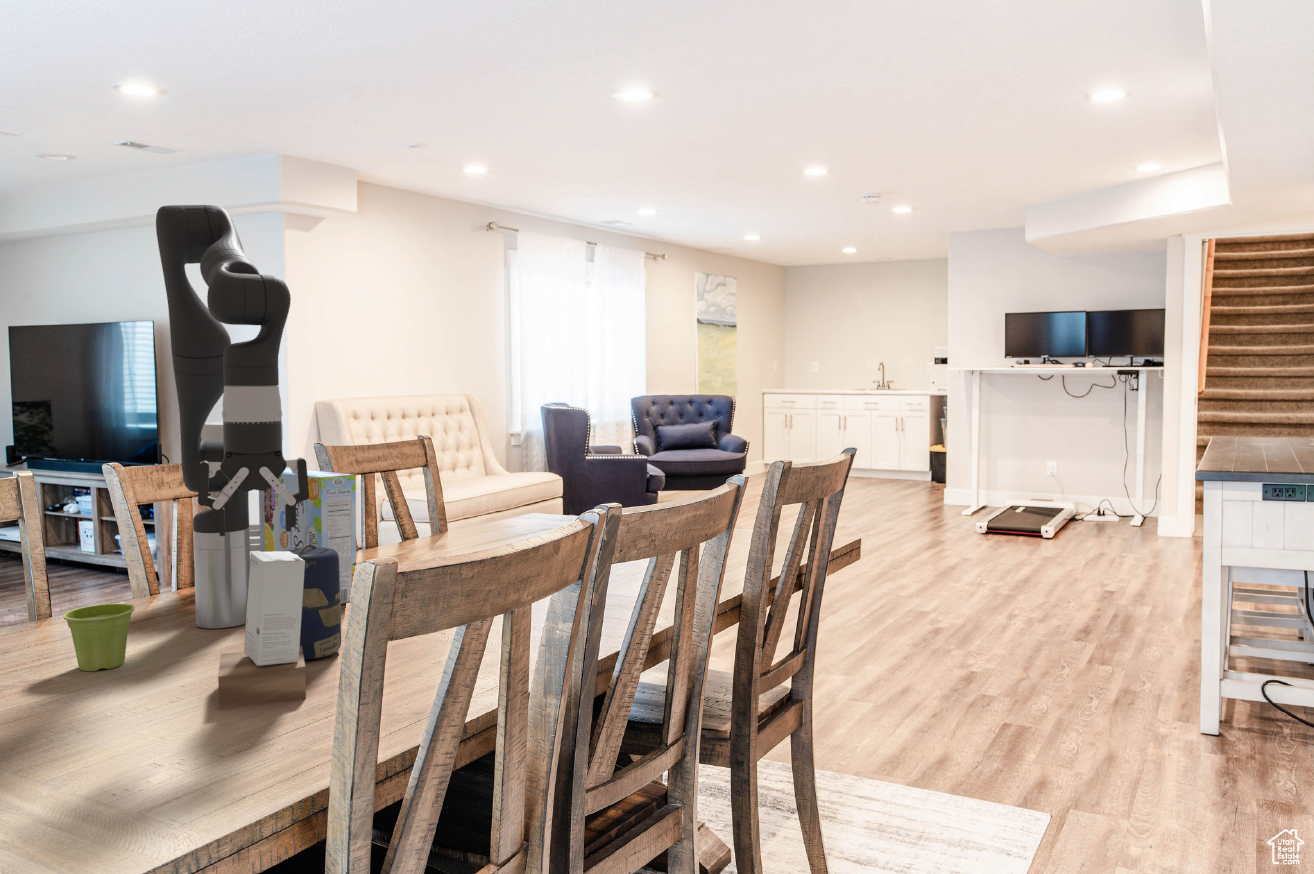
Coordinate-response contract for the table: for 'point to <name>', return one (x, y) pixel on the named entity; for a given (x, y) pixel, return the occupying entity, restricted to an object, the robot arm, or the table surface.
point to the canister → (320, 602)
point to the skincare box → (274, 607)
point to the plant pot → (100, 634)
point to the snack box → (317, 520)
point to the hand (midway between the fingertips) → (255, 533)
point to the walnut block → (259, 681)
